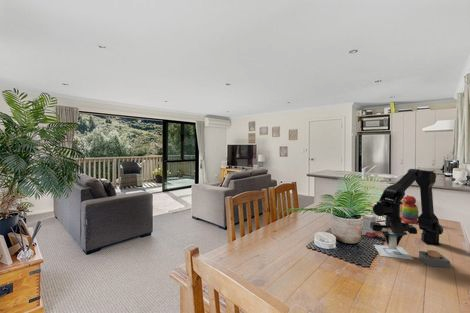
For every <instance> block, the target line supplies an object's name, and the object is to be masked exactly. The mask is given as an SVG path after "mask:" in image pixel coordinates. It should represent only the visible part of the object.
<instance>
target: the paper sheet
mask: <svg viewBox="0 0 470 313" xmlns="http://www.w3.org/2000/svg"><path fill="white" fill-rule="evenodd" d="M374 246H375V247H374ZM373 247H374V248H375V249H376V250H377V253H378V254H379V255H380V256H381V257H384V258H392V259H394V258H395V259H404V260H415V259H414V258H413V257H412V256H411V255H410V254H409V253H408V251H406V250H405V249H404V247H401V246H400V247H399V246H397V249H390V248H388V245H382V244H380V245H379V244H373Z"/></svg>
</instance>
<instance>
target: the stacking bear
mask: <svg viewBox="0 0 470 313" xmlns="http://www.w3.org/2000/svg"><path fill="white" fill-rule="evenodd" d="M402 200H403V204H402V208H401V214H402V216H400V218H401V221H402V220H403V221H402V222H403V223H408V224H410V223H413V224H418V223H417V222H418V216H419V214H420V212H419V208H418V206H417V204H416V202H417V200H416V197H414V196H412V195H405V196H404V197H403V198H402Z"/></svg>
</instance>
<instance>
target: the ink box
mask: <svg viewBox="0 0 470 313" xmlns="http://www.w3.org/2000/svg"><path fill="white" fill-rule="evenodd" d="M371 222H377V215H372V214H368V215H365V216H363V227H362V234H361V235H362V236H366V237H369V238H375V237H376V236H377V231H373V230H372V229H371V228H370V223H371Z"/></svg>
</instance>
